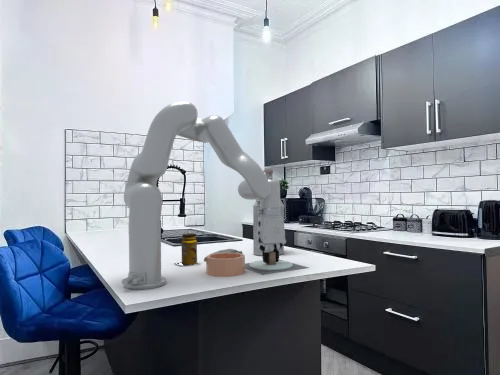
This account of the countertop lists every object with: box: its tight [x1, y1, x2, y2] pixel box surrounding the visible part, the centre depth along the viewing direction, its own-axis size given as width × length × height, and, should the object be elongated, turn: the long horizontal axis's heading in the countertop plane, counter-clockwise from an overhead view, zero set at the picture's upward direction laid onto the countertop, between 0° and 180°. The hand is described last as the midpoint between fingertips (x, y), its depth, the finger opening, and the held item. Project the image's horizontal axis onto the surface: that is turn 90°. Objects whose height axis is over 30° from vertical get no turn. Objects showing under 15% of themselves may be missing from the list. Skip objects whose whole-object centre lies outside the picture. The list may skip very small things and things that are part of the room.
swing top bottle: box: [252, 166, 285, 257], centre depth 160 cm, size 13×17×40 cm
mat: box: [245, 259, 310, 276], centre depth 131 cm, size 20×20×1 cm
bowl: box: [205, 252, 246, 277], centre depth 123 cm, size 13×13×6 cm
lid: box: [249, 251, 293, 271], centre depth 131 cm, size 16×16×5 cm
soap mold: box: [203, 248, 244, 262], centre depth 153 cm, size 10×20×4 cm, turn 160°
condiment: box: [173, 232, 201, 267], centre depth 140 cm, size 7×8×12 cm
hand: (270, 261), depth 131 cm, fingers closed on lid, 3 cm apart
